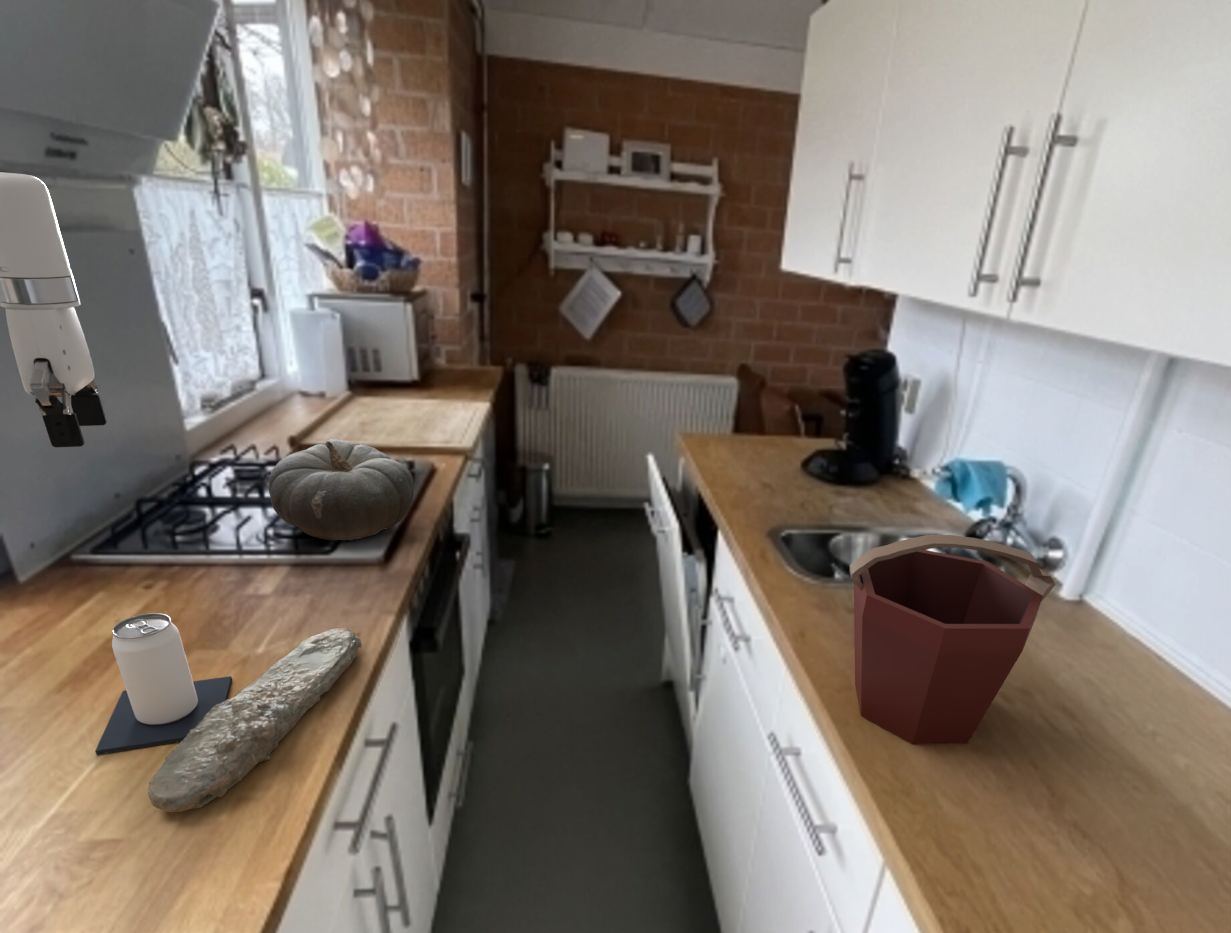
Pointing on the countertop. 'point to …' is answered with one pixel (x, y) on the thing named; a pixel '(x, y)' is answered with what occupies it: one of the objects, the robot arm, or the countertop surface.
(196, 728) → the long grey stone
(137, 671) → the can
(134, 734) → the mat
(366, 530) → the gourd
